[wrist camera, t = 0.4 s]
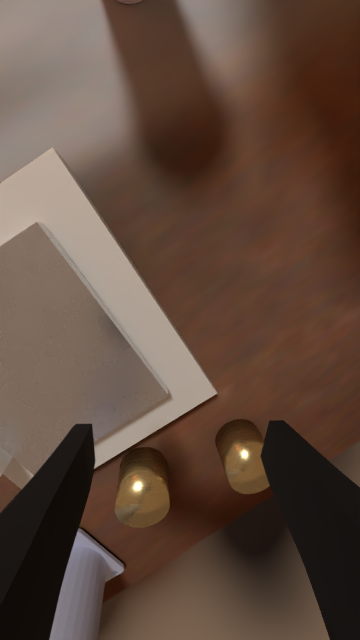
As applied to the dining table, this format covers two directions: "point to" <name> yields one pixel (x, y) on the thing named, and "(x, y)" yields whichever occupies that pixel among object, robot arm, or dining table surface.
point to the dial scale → (103, 296)
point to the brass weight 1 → (142, 488)
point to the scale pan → (61, 353)
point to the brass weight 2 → (242, 456)
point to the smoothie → (129, 1)
